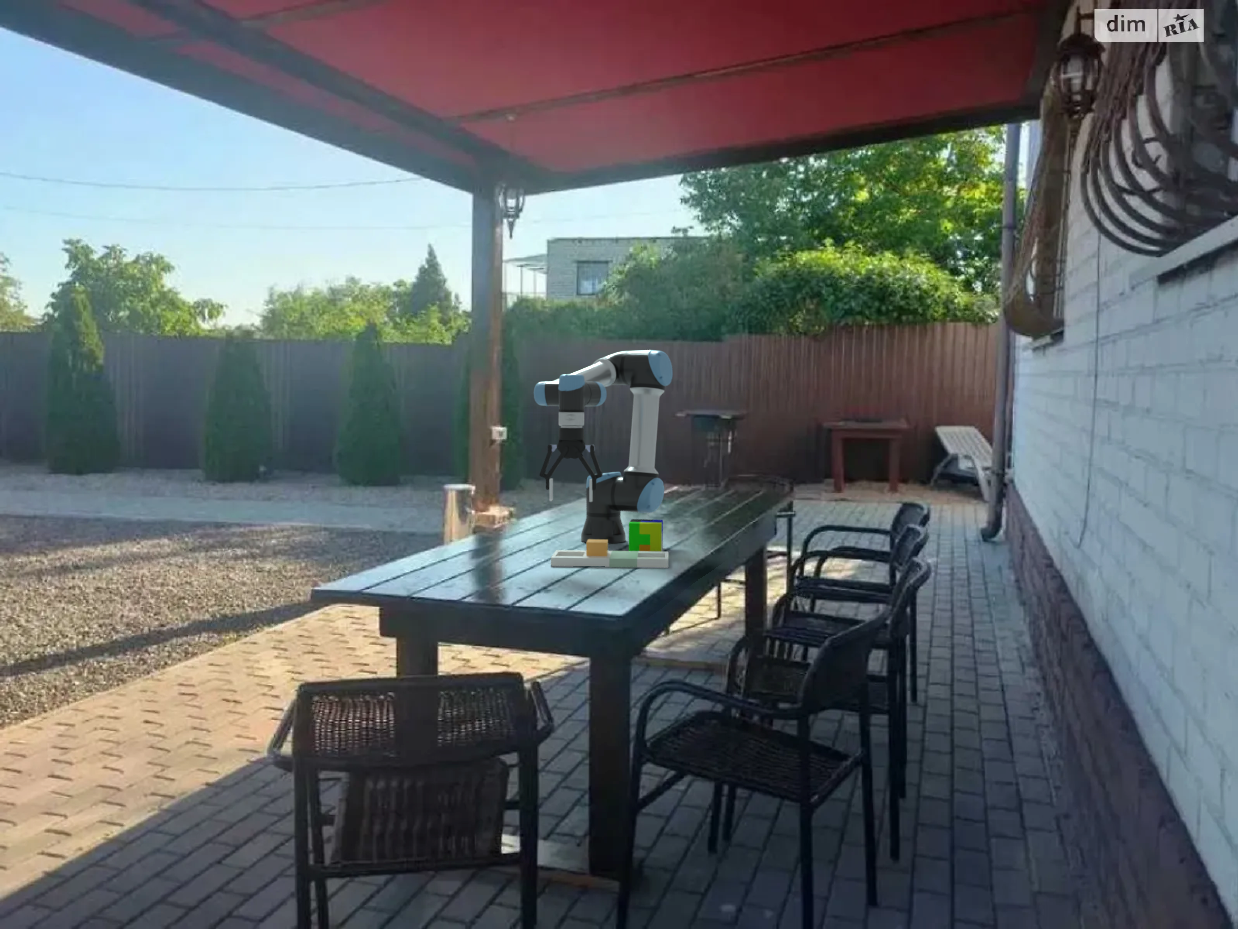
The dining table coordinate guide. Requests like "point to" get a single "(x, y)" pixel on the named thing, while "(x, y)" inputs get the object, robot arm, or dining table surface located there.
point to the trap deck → (611, 559)
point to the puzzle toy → (645, 535)
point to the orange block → (596, 547)
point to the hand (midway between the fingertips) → (571, 501)
